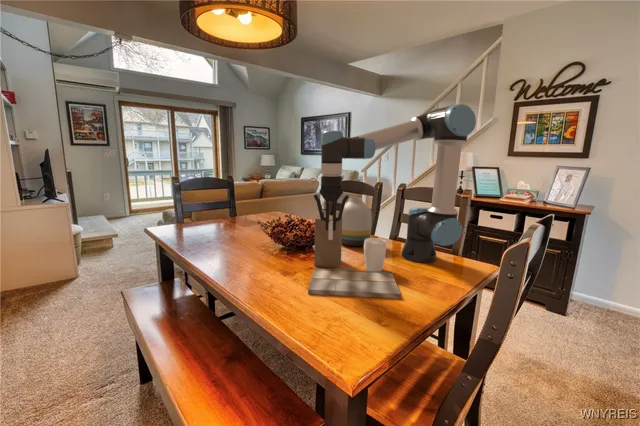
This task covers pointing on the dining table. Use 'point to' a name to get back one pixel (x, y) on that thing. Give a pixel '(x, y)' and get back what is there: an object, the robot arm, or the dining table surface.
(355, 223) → the vase
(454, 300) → the dining table surface
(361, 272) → the plank
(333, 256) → the wooden block
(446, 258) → the dining table surface
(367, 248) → the cup
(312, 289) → the laid row
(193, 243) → the dining table surface
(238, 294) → the dining table surface
